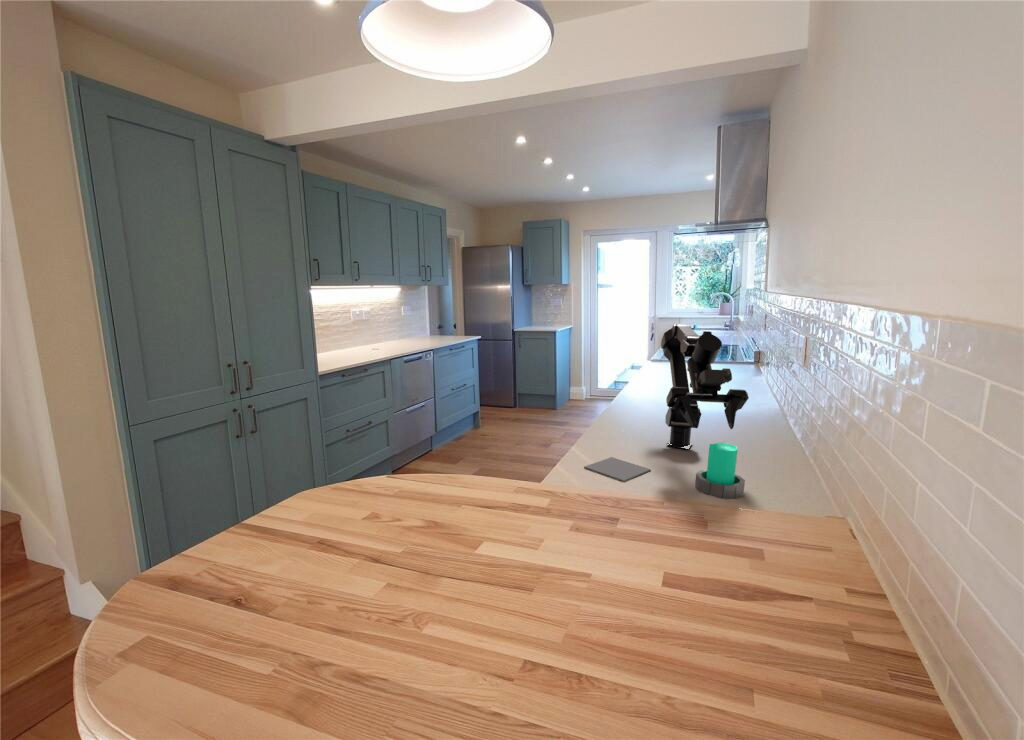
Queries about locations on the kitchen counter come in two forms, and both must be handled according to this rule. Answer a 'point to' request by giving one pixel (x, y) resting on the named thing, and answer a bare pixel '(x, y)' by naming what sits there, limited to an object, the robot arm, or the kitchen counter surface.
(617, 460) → the mat
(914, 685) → the kitchen counter surface
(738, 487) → the ring holder
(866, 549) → the kitchen counter surface
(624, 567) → the kitchen counter surface
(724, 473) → the candle
